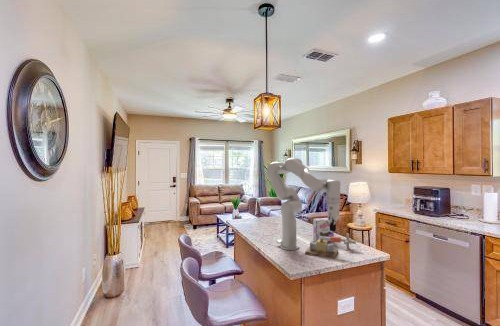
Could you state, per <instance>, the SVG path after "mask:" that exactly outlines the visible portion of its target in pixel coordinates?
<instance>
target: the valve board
mask: <svg viewBox="0 0 500 326" xmlns="http://www.w3.org/2000/svg"><path fill="white" fill-rule="evenodd" d="M338 253H339V249H337V248H336V249H335V248H334V252H333V253H329V252H326V253H323V252H316V251H315V250H313V251H311V250H310V246H309V247H308V248H307V249H306V250H305V251H304V254H305V255H307V256H315V257H322V258H328V259H333V260H334V259H336V258H337V255H338Z"/></svg>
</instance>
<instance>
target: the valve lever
mask: <svg viewBox="0 0 500 326" xmlns="http://www.w3.org/2000/svg"><path fill="white" fill-rule="evenodd" d="M341 239H342V237H341V236H340V237H339V236H334V237H332V236H331V237H325V236H319V240H328V241H330V242H331V243H338V244H341V243H342V241H341ZM330 242H329V243H330Z"/></svg>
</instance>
